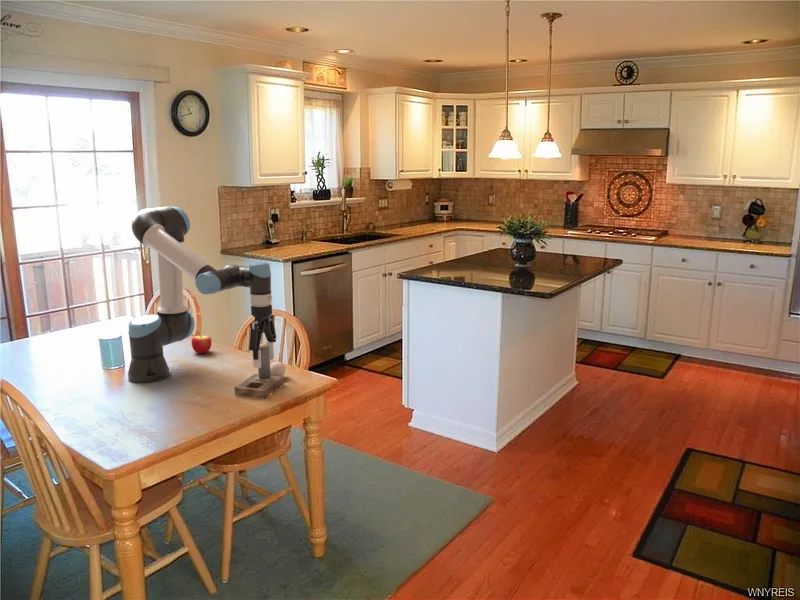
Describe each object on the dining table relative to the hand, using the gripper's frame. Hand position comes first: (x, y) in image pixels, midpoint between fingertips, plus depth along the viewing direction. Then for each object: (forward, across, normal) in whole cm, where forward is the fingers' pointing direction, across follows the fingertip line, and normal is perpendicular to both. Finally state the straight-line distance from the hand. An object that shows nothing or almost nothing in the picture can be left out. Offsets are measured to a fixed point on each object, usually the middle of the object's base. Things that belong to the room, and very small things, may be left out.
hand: (263, 363), depth 238 cm
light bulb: (+9, +8, +1) cm, 12 cm away
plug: (+6, 0, 0) cm, 6 cm away
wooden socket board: (+9, -4, 0) cm, 10 cm away
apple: (+9, +28, +45) cm, 54 cm away
